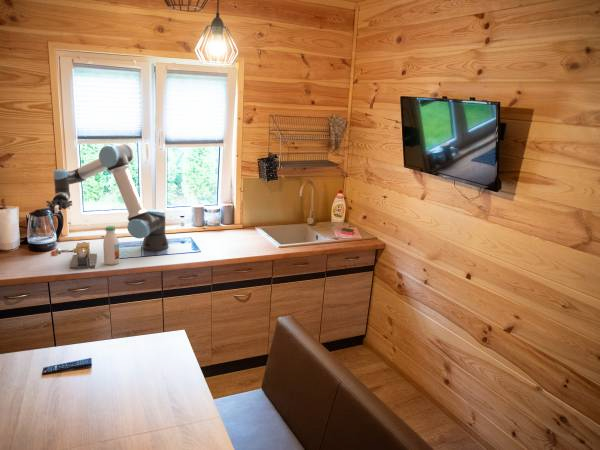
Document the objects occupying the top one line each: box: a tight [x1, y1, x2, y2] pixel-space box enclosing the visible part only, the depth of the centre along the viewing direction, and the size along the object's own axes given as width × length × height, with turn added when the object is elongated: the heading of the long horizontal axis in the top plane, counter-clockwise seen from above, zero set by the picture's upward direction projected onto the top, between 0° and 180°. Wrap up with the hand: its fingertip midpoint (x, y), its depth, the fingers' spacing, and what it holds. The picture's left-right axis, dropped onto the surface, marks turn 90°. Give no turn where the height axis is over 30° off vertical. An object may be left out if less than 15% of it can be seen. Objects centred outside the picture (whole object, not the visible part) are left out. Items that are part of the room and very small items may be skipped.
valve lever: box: [50, 248, 74, 258], centre depth 236 cm, size 8×3×18 cm
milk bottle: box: [102, 225, 120, 265], centre depth 248 cm, size 8×8×20 cm
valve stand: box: [69, 241, 98, 270], centre depth 247 cm, size 12×19×10 cm, turn 20°
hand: (56, 210), depth 241 cm, fingers closed
